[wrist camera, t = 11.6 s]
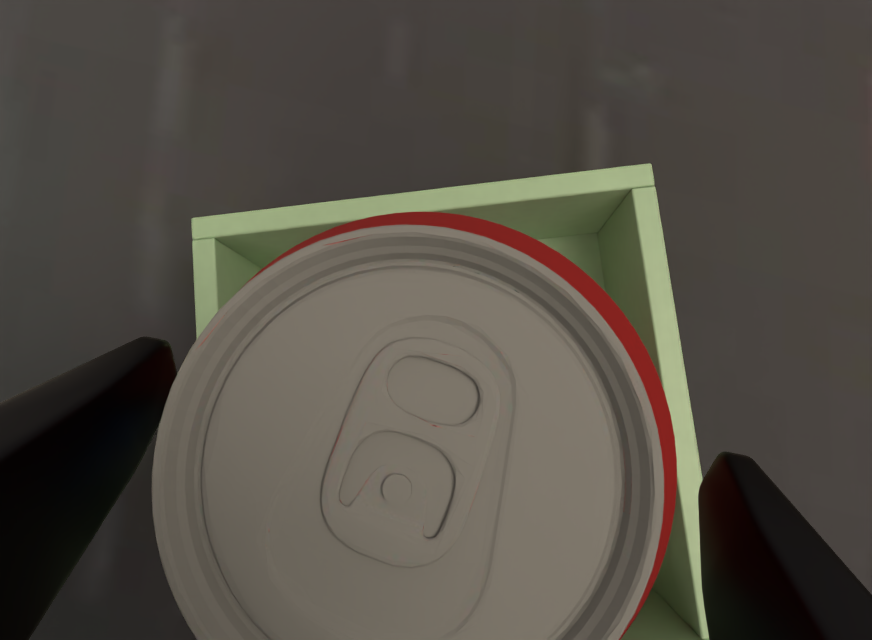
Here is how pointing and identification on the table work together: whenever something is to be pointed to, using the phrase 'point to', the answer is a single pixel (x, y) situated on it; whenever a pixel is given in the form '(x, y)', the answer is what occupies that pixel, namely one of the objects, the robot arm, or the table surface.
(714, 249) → the table surface
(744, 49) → the table surface
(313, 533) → the beverage can
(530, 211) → the bin
